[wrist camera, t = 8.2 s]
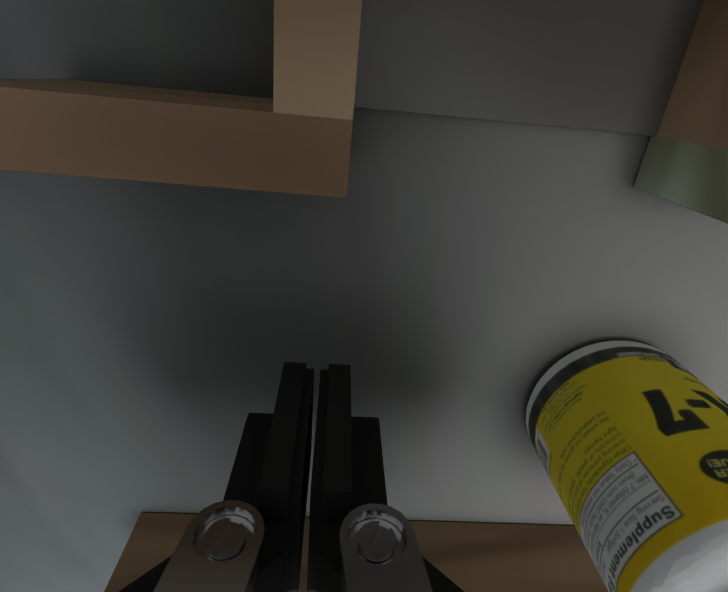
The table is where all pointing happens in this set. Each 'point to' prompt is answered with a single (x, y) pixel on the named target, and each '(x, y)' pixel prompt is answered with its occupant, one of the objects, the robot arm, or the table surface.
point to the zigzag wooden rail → (416, 95)
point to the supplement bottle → (637, 465)
